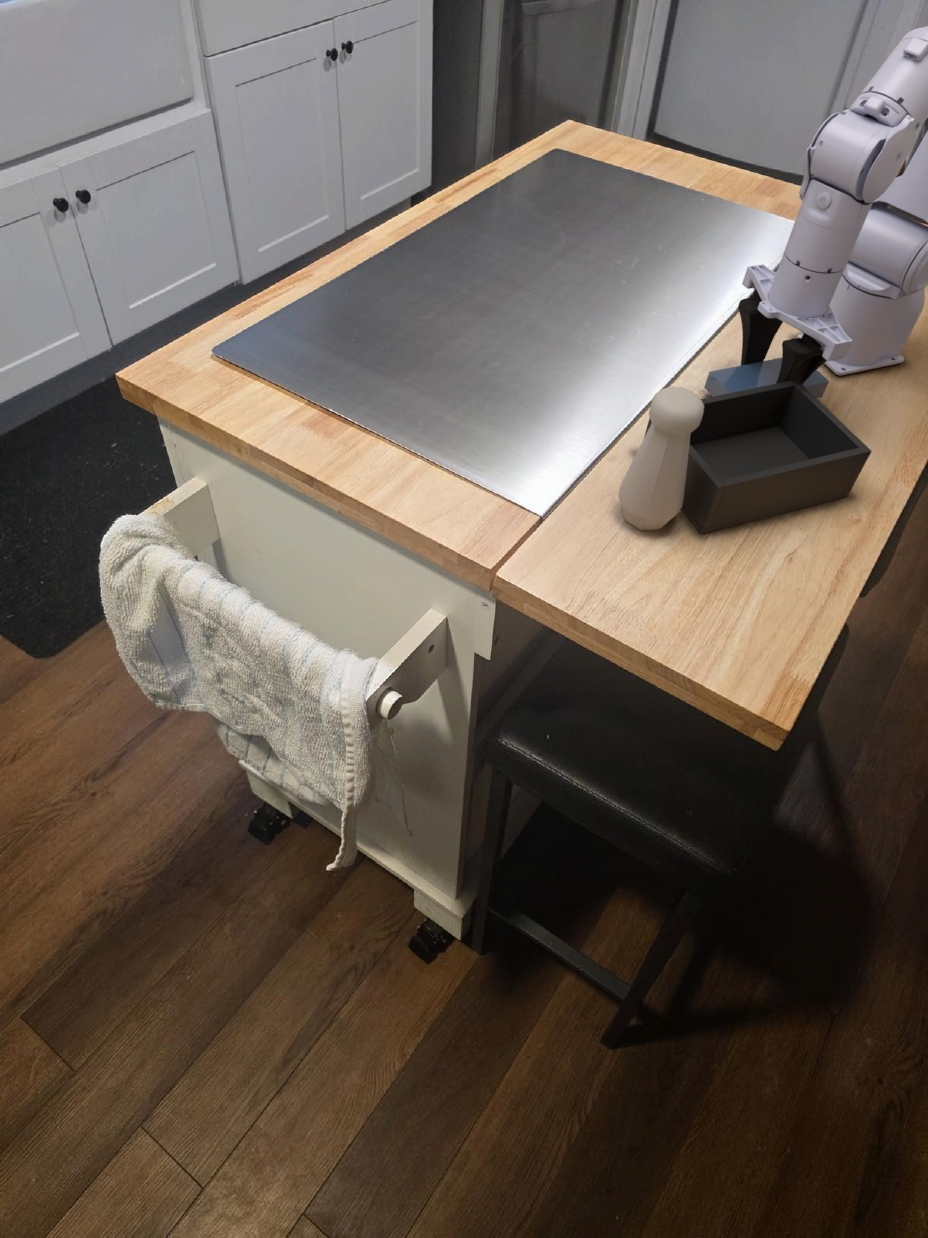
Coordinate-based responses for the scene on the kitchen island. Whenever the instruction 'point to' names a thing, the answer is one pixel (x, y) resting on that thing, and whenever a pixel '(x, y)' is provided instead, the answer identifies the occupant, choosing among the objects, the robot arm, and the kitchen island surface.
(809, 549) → the kitchen island surface
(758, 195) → the kitchen island surface
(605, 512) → the kitchen island surface
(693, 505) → the tub
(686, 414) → the salt shaker
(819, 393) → the blue block in tray
